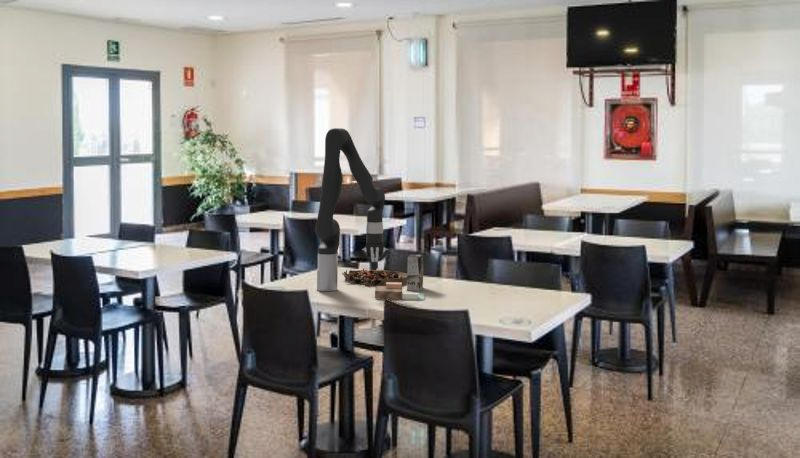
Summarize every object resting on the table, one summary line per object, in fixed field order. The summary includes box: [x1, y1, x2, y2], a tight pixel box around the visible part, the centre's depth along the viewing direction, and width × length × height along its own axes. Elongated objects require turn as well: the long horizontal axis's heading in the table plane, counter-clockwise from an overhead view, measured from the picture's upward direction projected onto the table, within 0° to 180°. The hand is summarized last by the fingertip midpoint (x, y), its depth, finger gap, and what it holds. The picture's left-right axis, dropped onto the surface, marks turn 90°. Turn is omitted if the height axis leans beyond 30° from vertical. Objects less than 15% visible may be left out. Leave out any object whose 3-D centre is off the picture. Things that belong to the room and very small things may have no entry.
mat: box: [402, 292, 425, 301], centre depth 376 cm, size 10×14×1 cm
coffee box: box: [406, 253, 424, 292], centre depth 394 cm, size 9×6×16 cm
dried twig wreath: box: [342, 267, 407, 287], centre depth 413 cm, size 35×33×8 cm
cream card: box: [401, 291, 419, 300], centre depth 372 cm, size 7×4×2 cm, turn 88°
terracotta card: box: [386, 282, 403, 290], centre depth 379 cm, size 7×4×2 cm, turn 89°
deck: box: [374, 286, 403, 300], centre depth 376 cm, size 12×12×4 cm
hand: (374, 269), depth 378 cm, fingers closed
